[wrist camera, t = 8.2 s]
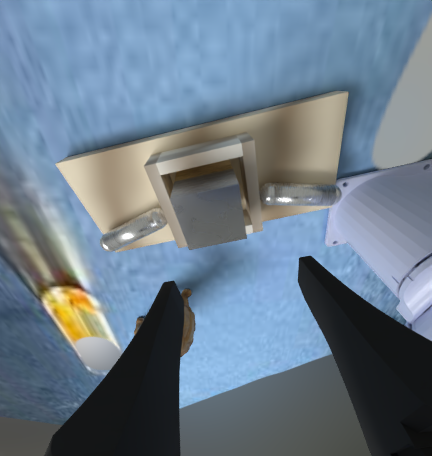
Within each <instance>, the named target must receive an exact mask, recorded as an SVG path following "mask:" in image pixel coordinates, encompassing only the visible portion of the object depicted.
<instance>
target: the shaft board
mask: <svg viewBox="0 0 432 456" xmlns="http://www.w3.org/2000/svg"><path fill="white" fill-rule="evenodd" d="M348 94H349V92H347V91H334V92H329V93H325V94H321V95H317V96H313V97H309V98H305V99H301V100H297V101H293V102H289V103H285V104H281V105H277V106H273V107H269V108H265V109H261V110H257V111H253V112H249V113H244V114H240V115H236V116H232V117H228V118H224V119H220V120H216V121H212V122H208V123H204V124H200V125H196V126H192V127H188V128H184V129H180V130H176V131H172V132H168V133H164V134H159V135H155V136H151V137H147V138H143V139H139V140H135V141H131V142H127V143H123V144H119V145H115V146H111V147H107V148H103V149H99V150H95V151H91V152H87V153H83V154H78V155H74V156H70V157H66V158H64V159H63V160H61V161H59V162H57V163H56V166H57V167H58V169H59V170H60V172H61V173H62V174H63V176H64V177H65V179H66V180H67V182H68V183H69V185H70V186H71V188H72V189H73V191H74V192H75V194H76V195H77V196H78V198H79V199H80V201H81V202H82V204H83V205H84V207H85V208H86V210H87V211H88V213H89V214H90V216H91V217H92V218H93V220H94V221H95V223H96V224H97V226H98V227H99V229H100V230H101V232H102V233H103V234H105V233H107V232H109V231H111V230H112V229H114V228H116V227H118V226H120V225H122V224H124V223H126V222H128V221H130V220H132V219H134V218H136V217H138V216H140V215H142V214H144V213H146V212H148V211H149V210H151V209H154V208H162V210H163V213H164V215H165V217H166V220H167V222H168V224H167V225H166V226H165V227H164V228H162V229H160V230H158V231H156V232H154V233H152V234H150V235H148V236H145V237H143V238H141V239H139V240H137V241H135V242H133V243H131V244H129V245H127V246H125V247H123V248H121V249H119V250H116V251H115V252H120V251H125V250H130V249H134V248H139V247H144V246H149V245H153V244H158V243H163V242H168V241H173V240H175V241H176V243H177V246H178V248H181V247H186V246H188V245H187V243H186V240H185V237H184V235H183V232H182V230H181V227H180V224H179V222H178V219H177V216H176V214H175V211H174V209H173V206H172V203H171V201H170V197H171V193H172V189H173V185H174V181H175V177H176V173H177V171H181V170H185V169H190V168H194V167H198V166H202V165H207V164H211V163H215V162H220V161H224V160H228V159H229V160H230V162H231V165H232V167H233V170H234V173H235V175H236V178H237V180H238V183H239V188H240V195H241V202H242V208H243V215H244V222H245V229H246V234H249V233H254V232H259V231H263V227H262V222H263V221H268V220H273V219H278V218H282V217H287V216H292V215H297V214H302V213H306V212H311V211H316V210H321V209H325V208H330V207H332V206H291V205H266V204H264V203H263V202H262V201H261V200H260V195H259V191H260V189H261V187H262V186H263V185H264V184H266V183H310V184H334V185H335V184H336V177H337V170H338V163H339V156H340V149H341V142H342V135H343V128H344V121H345V114H346V108H347V101H348Z"/></svg>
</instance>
